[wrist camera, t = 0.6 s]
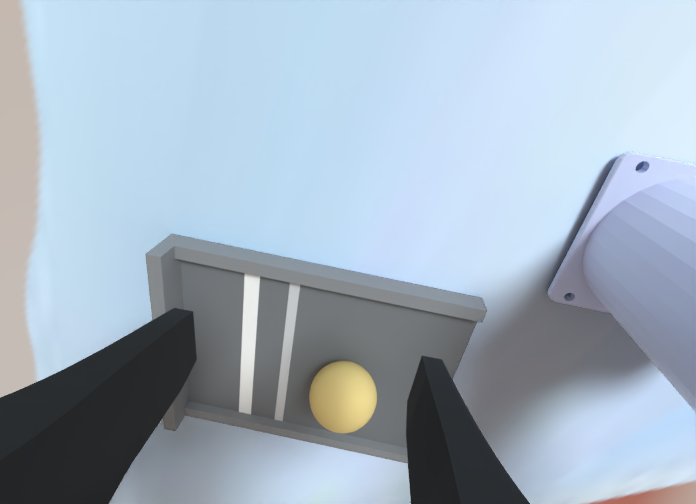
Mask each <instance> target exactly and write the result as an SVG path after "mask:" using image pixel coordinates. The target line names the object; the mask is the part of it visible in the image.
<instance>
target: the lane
mask: <svg viewBox="0 0 696 504" xmlns="http://www.w3.org/2000/svg"><path fill="white" fill-rule="evenodd" d="M146 264H147V273H148V282H149V292H150V301H151V310H152V319H153V320H154V319H156V318H157V317H159V316H161V315H162V314H164V313H166V312H168V311H169V310H171V309H173V308H178V309H184V310H189V311H193V315H194V328H195V342H196V356H197V360H196V362H195V364H194V366H193V368H192V370H191V372H190V374H189V376H188V378H187V380H186V382H185V384H184V386H183V388H182V389H181V391H180V393H179V394H178V396H177V397H176V399H175V400H174V402H173V403H172V405H171V406H170V408H169V409H168V410H167V412H166V413H165V415H164V416H163V422H164V429H168V430H173V431H176V429H177V428H178V426H179V424H180V423H181V421H182V419H183V418H184V416H185V415H187V416H191V417H196V418H201V419H205V420H210V421H215V422H219V423H224V424H228V425H233V426H238V427H242V428H247V429H251V430H256V431H261V432H265V433H270V434H275V435H279V436H284V437H288V438H293V439H298V440H302V441H307V442H311V443H316V444H321V445H325V446H330V447H335V448H339V449H344V450H348V451H353V452H358V453H362V454H367V455H371V456H376V457H381V458H385V459H390V460H395V461H399V462H404V463H408V456H407V442H406V416H407V400H408V397H409V394H410V391H411V388H412V384H413V381H414V378H415V375H416V372H417V369H418V366H419V363H420V360H421V356H427V357H433V358H438V359H442V360H443V362H444V363H445V366H446V368H447V370H448V372H449V374H450V376H451V378H452V379H453V376H454V374H455V372H456V369H457V367H458V365H459V362H460V360H461V358H462V356H463V353H464V351H465V349H466V346H467V344H468V342H469V339H470V337H471V335H472V332H473V330H474V328H475V325H476V323H477V322H482V321H483V319H484V317H485V314H486V312H487V309H486V307H485V304H484V301H483V299H482V298H480V297H475V296H470V295H465V294H460V293H456V292H451V291H446V290H441V289H436V288H431V287H426V286H422V285H417V284H412V283H407V282H402V281H397V280H393V279H388V278H383V277H378V276H373V275H368V274H364V273H359V272H354V271H349V270H344V269H339V268H335V267H330V266H325V265H320V264H315V263H310V262H306V261H301V260H296V259H291V258H286V257H281V256H276V255H272V254H267V253H262V252H257V251H252V250H247V249H243V248H238V247H233V246H228V245H223V244H218V243H214V242H209V241H204V240H199V239H194V238H189V237H185V236H180V235H175V234H171V235H170V236H168V237H167V238H166V239H164V240H163V241H162V242H161V243H159V244H158V245H157V246H155V247H154V248H153V249H151V250H150V251H149V252H148V253H146ZM336 361H351V362H354V363H356V364H358V365H360V366H362V367H363V368H364V369H365V370H366V371H367V372H368V373H369V374H370V376H371V377H372V379H373V381H374V383H375V386H376V391H377V403H376V407H375V410H374V413H373V415H372V417H371V418H370V420H369V421H368V422H367V423H366V424H365V425H364V426H363V427H361V428H360V429H358V430H356V431H354V432H350V433H335V432H332V431H330V430H328V429H326V428H325V427H323V426H322V425H321V424H320V423H319V422H318V421H317V420H316V418H315V417H314V415H313V413H312V410H311V407H310V401H309V394H310V388H311V384H312V382H313V380H314V378H315V376H316V375H317V373H318V372H319V371H320V370H321V369H322V368H324V367H325V366H326V365H328V364H330V363H333V362H336Z"/></svg>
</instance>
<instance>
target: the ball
mask: <svg viewBox="0 0 696 504" xmlns="http://www.w3.org/2000/svg"><path fill="white" fill-rule="evenodd" d="M309 401H310V407H311V410H312V413H313V415H314V417H315V418H316V420H317V421H318V422H319V423H320V424H321V425H322V426H323V427H325V428H326V429H328V430H330V431H332V432H335V433H350V432H354V431H356V430H358V429H360V428H361V427H363V426H364V425H365V424H366V423H367V422H368V421H369V420H370V418H371V417H372V415H373V413H374V410H375V407H376V403H377V391H376V386H375V383H374V381H373V379H372V377H371V376H370V374H369V373H368V372H367V371H366V370H365V369H364V368H363V367H362V366H360V365H358V364H356V363H354V362H351V361H336V362H333V363H330V364H328V365H326V366H325V367H324V368H322V369H321V370H320V371H319V372H318V373H317V375H316V376H315V378H314V380H313V382H312V384H311V388H310V394H309Z"/></svg>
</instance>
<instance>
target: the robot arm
mask: <svg viewBox="0 0 696 504" xmlns="http://www.w3.org/2000/svg"><path fill="white" fill-rule="evenodd" d="M642 161H643V162H644V165H643V167H642V168H641V169H640V170H638V171H636V166H637V165H638V164H639V163H640V162H642ZM547 293H548V296H549V298H550V299H551V300H552V301H554V302H557V303H562V304H567V305H572V306H577V307H581V308H586V309H591V310H596V311H601V312H606V313H611V315H612V316H613V317H614V318H615V319H616V320H617V322H618V323H619V324H620V325H621V326H622V327H623V328H624V330H625V331H626V332H627V333H628V334H629V335H630V337H631V338H632V339H633V340H634V341H635V342H636V344H637V345H638V346H639V347H640V348H641V349H642V351H643V352H644V353H645V354H646V355H647V356H648V358H649V359H650V360H651V361H652V362H653V363H654V364H655V366H656V367H657V368H658V369H659V370H660V371H661V373H662V374H663V375H664V376H665V377H666V378H667V380H668V381H669V382H670V383H671V384H672V385H673V387H674V388H675V389H676V390H677V391H678V392H679V394H680V395H681V396H682V397H683V398H684V399H685V400H686V402H687V403H688V404H689V405H690V406H691V407H692V409H693V410H694V411H695V412H696V164H692V163H686V162H681V161H676V160H671V159H666V158H661V157H656V156H651V155H646V154H641V153H636V152H626V153H623V154H622V155H620V156H619V157H618V158H617V159H616V161H615V163H614V165H613V166H612V168H611V170H610V172H609V174H608V176H607V178H606V180H605V182H604V184H603V186H602V187H601V189H600V191H599V193H598V195H597V197H596V199H595V201H594V203H593V205H592V207H591V209H590V210H589V212H588V214H587V216H586V218H585V220H584V222H583V224H582V226H581V228H580V230H579V232H578V233H577V235H576V237H575V239H574V241H573V243H572V245H571V247H570V249H569V251H568V253H567V254H566V256H565V258H564V260H563V262H562V264H561V266H560V268H559V270H558V272H557V274H556V276H555V277H554V279H553V281H552V283H551V285H550V287H549V289H548V292H547ZM568 293H571V295H570V296H568V297H564V296H565V295H566V294H568ZM196 360H197V356H196V342H195V328H194V315H193V311H189V310H184V309H178V308H173V309H171V310H169V311H168V312H166V313H164V314H162V315H161V316H159V317H157V318H156V319H154V320H152V321H151V322H149V323H147V324H146V325H144V326H142V327H140V328H139V329H137V330H135V331H134V332H132V333H130V334H128V335H127V336H125V337H123V338H121V339H120V340H118V341H116V342H115V343H113V344H111V345H109V346H108V347H106V348H104V349H102V350H100V351H98V352H96V353H94V354H92V355H91V356H89V357H87V358H85V359H83V360H81V361H79V362H77V363H75V364H74V365H72V366H70V367H68V368H66V369H64V370H62V371H60V372H58V373H56V374H53V375H51V376H49V377H47V378H45V379H43V380H41V381H38V382H36V383H34V384H32V385H30V386H27V387H25V388H23V389H20V390H18V391H16V392H14V393H11V394H9V395H6V396H4V397H1V398H0V504H109V502H110V500H111V498H112V497H113V495H114V493H115V491H116V489H117V488H118V486H119V484H120V482H121V481H122V479H123V477H124V475H125V473H126V472H127V470H128V469H129V467H130V465H131V464H132V462H133V461H134V459H135V457H136V456H137V455H138V453H139V452H140V450H141V449H142V447H143V446H144V444H145V443H146V441H147V440H148V438H149V437H150V435H151V434H152V433H153V431H154V430H155V428H156V427H157V425H158V424H159V422H160V421H161V419H162V418H163V416H164V415H165V413H166V412H167V410H168V409H169V408H170V406H171V405H172V403H173V402H174V400H175V399H176V397H177V396H178V394H179V393H180V391H181V389H182V388H183V386H184V384H185V382H186V380H187V378H188V376H189V374H190V372H191V370H192V368H193V366H194V364H195V362H196ZM406 442H407V456H408V469H409V482H410V495H411V504H530V503H529V502H528V501H527V499H526V498H525V497H524V495H523V494H522V493H521V491H520V490H519V489H518V487H517V486H516V484H515V483H514V482H513V480H512V479H511V477H510V476H509V475H508V473H507V472H506V470H505V469H504V467H503V466H502V464H501V463H500V461H499V460H498V458H497V457H496V455H495V454H494V452H493V451H492V449H491V447H490V446H489V444H488V443H487V441H486V440H485V438H484V436H483V435H482V433H481V431H480V430H479V428H478V426H477V424H476V423H475V421H474V419H473V417H472V416H471V414H470V412H469V410H468V409H467V407H466V405H465V403H464V401H463V399H462V397H461V396H460V394H459V392H458V390H457V388H456V386H455V384H454V382H453V380H452V378H451V376H450V374H449V372H448V370H447V368H446V366H445V363H444V362H443V360H442V359H438V358H433V357H427V356H421V360H420V363H419V366H418V369H417V372H416V375H415V378H414V381H413V384H412V388H411V391H410V394H409V397H408V400H407V416H406Z"/></svg>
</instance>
